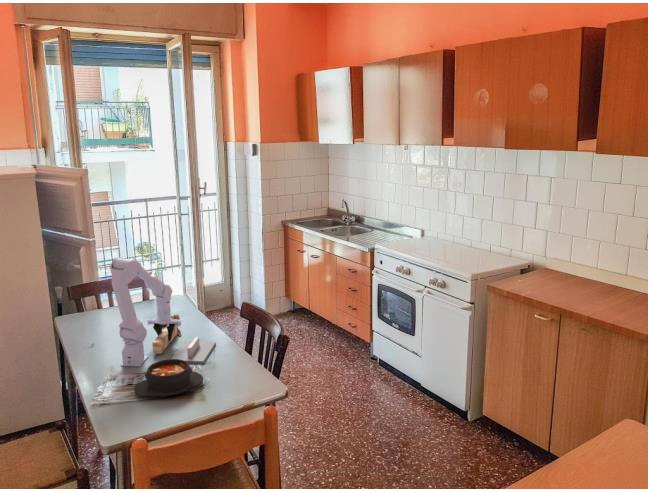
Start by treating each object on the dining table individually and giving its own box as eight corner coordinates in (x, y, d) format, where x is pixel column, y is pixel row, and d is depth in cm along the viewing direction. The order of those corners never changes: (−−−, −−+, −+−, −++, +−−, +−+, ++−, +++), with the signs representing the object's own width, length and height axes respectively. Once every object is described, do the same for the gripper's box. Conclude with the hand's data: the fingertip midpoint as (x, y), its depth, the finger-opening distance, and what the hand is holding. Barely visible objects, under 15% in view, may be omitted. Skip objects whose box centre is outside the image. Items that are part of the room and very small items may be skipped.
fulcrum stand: (203, 363, 222) (203, 352, 220) (170, 362, 222) (169, 351, 221) (215, 344, 241) (215, 334, 240) (185, 343, 242) (184, 333, 241)
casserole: (196, 371, 215) (195, 351, 213) (209, 391, 199) (208, 370, 197) (131, 384, 204) (129, 364, 202) (138, 407, 188) (137, 384, 186)
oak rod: (161, 353, 229) (160, 342, 228) (153, 353, 229) (152, 342, 228) (177, 334, 251) (176, 323, 250) (169, 333, 251) (169, 323, 250)
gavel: (190, 328, 252) (169, 333, 247) (190, 337, 253) (169, 342, 248) (177, 313, 269) (156, 316, 264) (177, 321, 270) (157, 325, 265)
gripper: (182, 308, 240) (184, 336, 243) (150, 307, 241) (152, 335, 244) (177, 313, 233) (179, 342, 236) (144, 312, 234) (146, 341, 237)
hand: (165, 339), depth 240 cm, fingers closed on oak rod, 4 cm apart
